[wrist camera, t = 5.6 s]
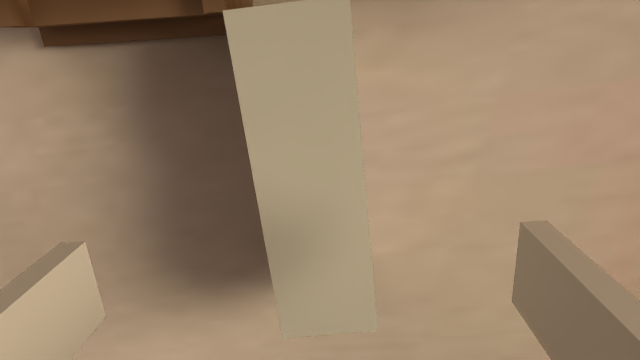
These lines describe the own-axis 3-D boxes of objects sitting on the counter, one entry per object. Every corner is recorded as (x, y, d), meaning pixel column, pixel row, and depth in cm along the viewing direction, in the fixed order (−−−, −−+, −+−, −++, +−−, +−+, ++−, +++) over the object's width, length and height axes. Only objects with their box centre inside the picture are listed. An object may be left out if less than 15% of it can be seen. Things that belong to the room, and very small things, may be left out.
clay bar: (365, 252, 29) (377, 330, 22) (294, 258, 29) (282, 338, 22) (342, 4, 24) (349, -6, 16) (256, 15, 24) (222, 10, 16)
